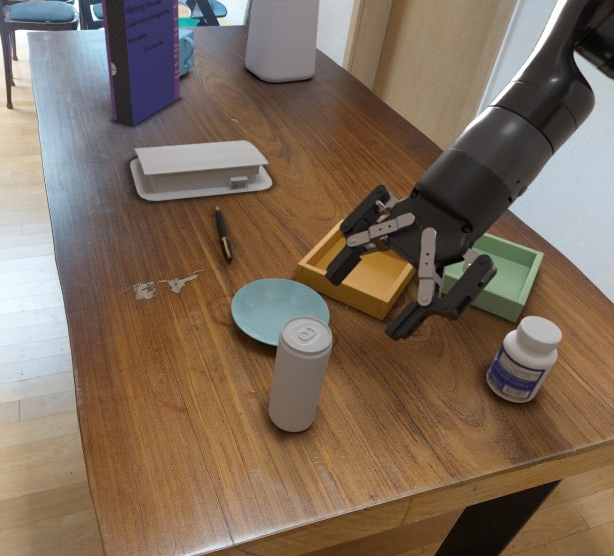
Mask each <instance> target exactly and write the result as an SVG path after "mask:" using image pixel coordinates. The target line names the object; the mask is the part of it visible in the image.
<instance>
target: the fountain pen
mask: <svg viewBox="0 0 614 556" xmlns="http://www.w3.org/2000/svg"><path fill="white" fill-rule="evenodd" d="M215 214H216V220H217V226H218V231H219V235H220V241H221V245H222V250H223V252H224V255H225V258H226V259H227V261H228V262H232V261H233V258H234V257H233V248H232V243H231V239H230V237H229V233H228V229H227V227H226V224H225V220H224V216H223V214H222V211H221V209H220V208H219V207H218V206H216V207H215Z"/></svg>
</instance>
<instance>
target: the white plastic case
mask: <svg viewBox="0 0 614 556" xmlns="http://www.w3.org/2000/svg"><path fill="white" fill-rule="evenodd" d="M133 150H134V152H135V153H136V155H137V157H136V158H134V159H133V160H131V162H130V164H129V167H130V170H131V174H132V178H133V182H134V185H135V189H136V191H137V194H138V195H139V197H140V198H141V199H144V200H146V201H150V202H151V201H154V202H159V201H171V200H180V199H189V198H190V199H191V198H197V197H198V198H199V197H201V198H202V197H209V196H219V195H227V194H228V195H229V194H240V193H247V192H249V193H250V192H258V191H265V190H268V189H270V188H271V187H272V185H273V181H272V178H271V176H270V175H269V173H268V172H267V171H266V169H265V168H264V166H269V165H270V163H269V161H268V160H267V159H266V157H265V156H264V154H262V152H261V151H260V150H259V149H258V148H257V147H256V146H255V145H254V144H253V143H251V142H250V141H248V140H245V139H243V140H231V141H217V142H216V141H215V142H203V143H190V144H177V145H175V144H174V145H164V146H162V145H161V146H150V147H137V148H133Z"/></svg>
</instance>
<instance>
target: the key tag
mask: <svg viewBox="0 0 614 556" xmlns="http://www.w3.org/2000/svg"><path fill="white" fill-rule="evenodd" d="M389 217H391V213H389V214H388V215H382V216H381V217H380V218H379V219H378V220H377V221H376V222H375V223H376V224H380V223H383V222H384V221H385V220H386V219H388V218H389Z"/></svg>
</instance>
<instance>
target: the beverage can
mask: <svg viewBox="0 0 614 556" xmlns="http://www.w3.org/2000/svg"><path fill="white" fill-rule="evenodd" d="M276 347H277V349H276V354H275V361H274V368H273V376H272V383H271V389H270V395H269V403H268V416H269V418H270V420H271V422H272V423H273V424H274V425H275V426H276V427H278V428H279V429H281V430H283V431H285V432H291V433H299V432H302V431H303V432H304V431H305V430H307V429H309V428H310V426H311V425H312V424H313V422H314V419H315V417H316V412H317V408H318V404H319V400H320V395H321V391H322V387H323V383H324V380H325V376H326V371H327V368H328V365H329V360H330V356H331V352H332V348H333V333H332V330H331V329H330V327H329V325H328V326H327V325H326V324H325V323H324V322H323V321H321V320H319V319H317V318H314V317H311V316H296V317H292V318H290V319H288V320H287V321H286V322H285V323H284V324H283V326H282V329H281V331H280V334H279V340H278V346H276Z"/></svg>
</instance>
